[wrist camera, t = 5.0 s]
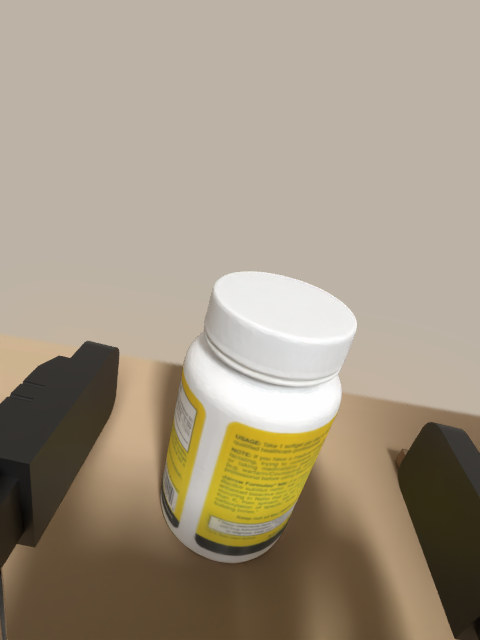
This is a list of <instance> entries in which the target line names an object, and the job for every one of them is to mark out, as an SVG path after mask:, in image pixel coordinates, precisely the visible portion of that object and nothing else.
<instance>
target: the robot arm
mask: <svg viewBox="0 0 480 640" xmlns="http://www.w3.org/2000/svg"><path fill="white" fill-rule="evenodd" d="M118 365H119V349H118V348H117V347H112V346H108V345H103V344H99V343H95V342H91V341H86V342H85V343H84V344H83V345H82V346H81V347H80V348H79V349H78V350H77V351H76V353H75V354H74V355H73V356H72V357H71V358H67V357H63V356H58V357H55V358H53V359H51V360H49V361H47V362H45V363H43V364H41V365H39V366H38V367H37V368H36V369H35V370H34V371H33V372H32V373H31V374H30V375H29V376H28V377H27V378H26V379H25V380H24V381H23V384H20V385H19V386H18V387H17V388H16V389H15V390H14V391H13V392H12V393H11V395H10V397H7V398H6V399H5V400H4V401H3V402H2V403H1V404H0V640H8V634H7V622H6V609H5V597H4V584H3V572H2V567H3V565H4V564H5V562H6V560H7V559H8V557H9V555H10V554H11V552H12V551H13V549H14V547H15V546H16V544H21V545H26V546H30V547H36V545H37V543H38V542H39V540H40V538H41V536H42V535H43V533H44V531H45V529H46V528H47V526H48V524H49V522H50V521H51V519H52V517H53V515H54V514H55V512H56V510H57V508H58V507H59V505H60V503H61V501H62V500H63V498H64V496H65V494H66V493H67V491H68V489H69V487H70V486H71V484H72V482H73V480H74V479H75V477H76V475H77V473H78V472H79V470H80V468H81V466H82V465H83V463H84V461H85V459H86V458H87V456H88V454H89V452H90V451H91V449H92V447H93V445H94V444H95V442H96V440H97V438H98V437H99V435H100V433H101V431H102V430H103V428H104V426H105V424H106V423H107V421H108V419H109V417H110V415H111V412H112V409H113V406H114V402H115V398H116V388H117V376H118ZM398 481H399V486H400V490H401V492H402V495H403V498H404V501H405V503H406V506H407V509H408V512H409V514H410V517H411V520H412V523H413V525H414V528H415V531H416V534H417V536H418V539H419V542H420V545H421V547H422V550H423V553H424V556H425V558H426V561H427V564H428V567H429V569H430V572H431V575H432V578H433V580H434V583H435V586H436V589H437V591H438V594H439V597H440V600H441V602H442V605H443V608H444V611H445V613H446V616H447V619H448V622H449V624H450V627H451V630H452V633H453V635H454V638H455V639H458V640H480V453H479V452H478V450H477V449H476V447H475V446H474V444H473V443H472V441H471V439H470V438H469V436H468V435H467V434H466V432H465V431H463V430H462V429H459V428H454V427H450V426H446V425H442V424H437V423H433V422H430V423H427V424H426V425H425V426H424V427H423V428H422V430H421V431H420V433H419V435H418V436H417V438H416V439H415V441H414V443H413V444H412V446H411V447H410V449H409V450H408V452H407V454H406V455H405V457H404V458H403V460H402V462H401V464H400V467H399V472H398Z"/></svg>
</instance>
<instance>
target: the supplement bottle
mask: <svg viewBox="0 0 480 640" xmlns="http://www.w3.org/2000/svg"><path fill="white" fill-rule="evenodd" d="M356 327H357V322H356V318H355V316H354V314H353V313H352V311H351V310H350V309H349V308H348V307H347V306H346V305H345V304H344V303H342V301H340V300H339V299H337V298H336V297H334V296H333V295H331V294H329V293H327V292H326V291H324V290H322V289H320V288H317V287H315V286H313V285H311V284H308V283H305V282H302V281H300V280H297V279H293V278H289V277H286V276H282V275H278V274H272V273H265V272H254V271H246V272H236V273H231V274H227V275H225V276H223V277H221V278H220V279H219V280H217V282H216V283H215V285H214V287H213V289H212V293H211V298H210V302H209V306H208V310H207V314H206V316H205V321H204V332H203V333H201V334H200V335H199V336H198V337H197V338H196V339H195V340H194V341H193V342H192V344H191V345H190V347H189V349H188V351H187V354H186V357H185V360H184V364H183V368H182V375H181V381H180V386H179V392H178V397H177V403H176V408H175V413H174V419H173V425H172V430H171V435H170V441H169V446H168V452H167V457H166V463H165V469H164V474H163V479H162V485H161V505H162V511H163V514H164V517H165V520H166V522H167V524H168V526H169V527H170V529H171V531H172V532H173V533H174V535H175V536H176V537H177V538H178V539H179V540H180V541H181V542H182V543H183V544H184V545H185V546H187V547H188V548H189V549H191V550H192V551H194V552H196V553H197V554H199V555H201V556H203V557H206V558H208V559H211V560H214V561H218V562H223V563H239V562H244V561H248V560H251V559H254V558H256V557H258V556H260V555H262V554H263V553H265V552H266V551H267V550H269V549H270V548H271V547H272V546H273V545H274V544H275V543H276V541H277V540H278V539H279V537H280V536H281V534H282V532H283V530H284V529H285V527H286V525H287V523H288V520H289V518H290V515H291V513H292V511H293V509H294V507H295V504H296V502H297V500H298V498H299V495H300V493H301V491H302V489H303V487H304V485H305V482H306V480H307V478H308V476H309V474H310V472H311V469H312V467H313V465H314V463H315V461H316V458H317V456H318V454H319V452H320V450H321V447H322V445H323V443H324V441H325V438H326V436H327V434H328V432H329V430H330V428H331V425H332V423H333V421H334V419H335V417H336V415H337V412H338V410H339V406H340V402H341V395H342V388H341V383H340V380H339V377H338V373H339V372H340V369H341V366H342V365H343V363H344V361H345V358H346V355H347V353H348V351H349V348H350V345H351V343H352V340H353V338H354V335H355V332H356Z"/></svg>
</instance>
